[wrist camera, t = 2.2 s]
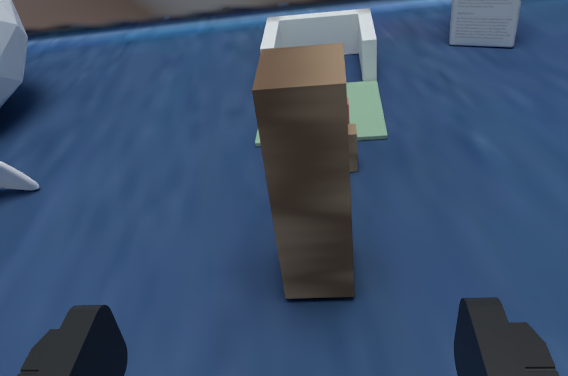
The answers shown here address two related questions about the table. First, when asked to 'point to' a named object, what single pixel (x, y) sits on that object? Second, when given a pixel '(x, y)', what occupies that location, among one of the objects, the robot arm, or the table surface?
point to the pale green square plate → (362, 111)
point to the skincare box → (484, 22)
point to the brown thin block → (307, 166)
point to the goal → (327, 34)
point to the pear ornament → (12, 81)
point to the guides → (353, 147)
